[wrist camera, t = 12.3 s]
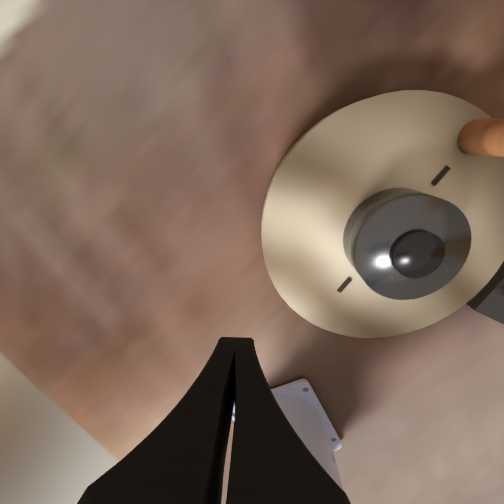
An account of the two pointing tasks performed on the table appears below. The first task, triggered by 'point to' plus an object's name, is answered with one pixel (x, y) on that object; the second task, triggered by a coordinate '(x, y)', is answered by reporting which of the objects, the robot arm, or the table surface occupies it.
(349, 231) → the iron cover
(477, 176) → the turntable
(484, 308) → the grey and clear piece
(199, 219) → the table surface
